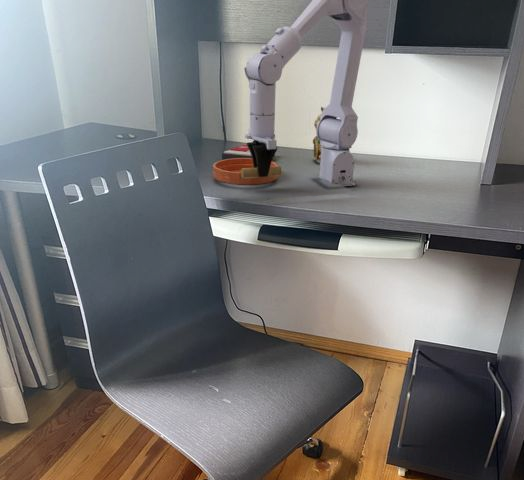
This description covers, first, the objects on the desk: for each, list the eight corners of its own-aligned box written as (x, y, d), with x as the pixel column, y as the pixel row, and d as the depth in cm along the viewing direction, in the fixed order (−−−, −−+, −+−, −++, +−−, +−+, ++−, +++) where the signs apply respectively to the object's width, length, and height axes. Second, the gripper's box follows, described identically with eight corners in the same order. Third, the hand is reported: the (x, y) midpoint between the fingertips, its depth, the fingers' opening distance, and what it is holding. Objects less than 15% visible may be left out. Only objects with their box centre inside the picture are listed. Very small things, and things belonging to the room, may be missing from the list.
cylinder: (278, 174, 132) (278, 165, 130) (281, 176, 130) (281, 167, 129) (240, 176, 129) (240, 167, 128) (243, 179, 127) (243, 169, 126)
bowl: (286, 186, 138) (287, 170, 135) (223, 191, 133) (222, 175, 131) (265, 171, 151) (265, 156, 149) (207, 175, 146) (206, 159, 144)
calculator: (275, 146, 162) (257, 154, 149) (274, 161, 164) (256, 170, 151) (242, 143, 165) (221, 150, 153) (241, 158, 167) (221, 166, 155)
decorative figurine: (308, 158, 165) (311, 105, 157) (333, 157, 167) (337, 104, 159) (319, 165, 157) (323, 110, 149) (345, 164, 159) (350, 109, 151)
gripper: (236, 109, 127) (236, 168, 134) (255, 119, 115) (254, 183, 122) (264, 108, 129) (263, 167, 136) (286, 118, 117) (283, 181, 124)
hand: (261, 175), depth 129 cm, fingers closed on cylinder, 2 cm apart
